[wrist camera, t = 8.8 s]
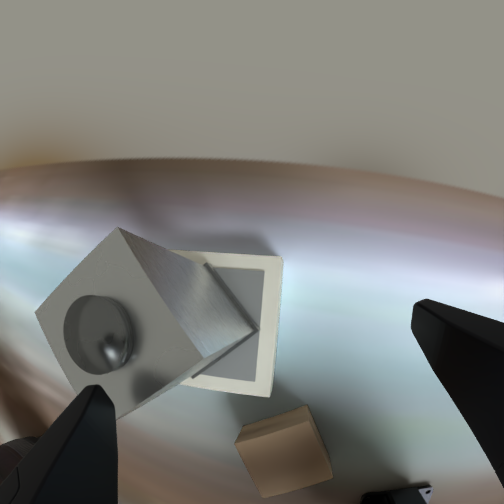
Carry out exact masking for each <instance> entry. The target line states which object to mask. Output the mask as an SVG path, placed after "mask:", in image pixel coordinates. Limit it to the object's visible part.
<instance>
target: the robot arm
mask: <svg viewBox="0 0 504 504" xmlns="http://www.w3.org/2000/svg"><path fill="white" fill-rule="evenodd" d="M411 330H412V333H413V335H414V336H415V338H416V340H417V342H418V344H419V345H420V347H421V349H422V351H423V353H424V355H425V356H426V358H427V360H428V362H429V364H430V366H431V368H432V369H433V371H434V373H435V374H436V376H437V377H438V379H439V380H440V382H441V383H442V385H443V386H444V388H445V389H446V391H447V392H448V394H449V395H450V397H451V398H452V400H453V402H454V403H455V405H456V406H457V408H458V409H459V411H460V413H461V414H462V416H463V417H464V419H465V421H466V422H467V424H468V425H469V427H470V429H471V430H472V432H473V434H474V435H475V437H476V439H477V440H478V442H479V444H480V446H481V447H482V449H483V451H484V452H485V454H486V456H487V458H488V459H489V461H490V463H491V465H492V467H493V469H494V470H495V473H496V474H497V476H498V478H499V480H500V482H501V484H502V486H503V488H504V323H503V322H500V321H497V320H494V319H490V318H487V317H484V316H481V315H478V314H475V313H471V312H468V311H465V310H462V309H459V308H455V307H452V306H449V305H446V304H443V303H439V302H436V301H433V300H430V299H423V300H421V301H418V302H416V303H415V304H414V306H413V313H412V320H411ZM427 490H429V491H427ZM426 491H427V492H426ZM432 493H433V488H432V486H430V485H428V486H422V487H413V488H406V489H399V490H390V491H384V492H372V493H366V494H364V495H363V496H362V498H361V501H360V504H428V503H429V500H430V498H431V495H432ZM368 497H370V498H369V499H366V498H368ZM0 504H118V447H117V433H116V412H115V406H114V403H113V402H112V400H111V399H110V397H109V396H108V395H107V393H106V392H105V390H104V389H103V388H102V386H100V385H99V384H94V385H87V386H86V387H85V388H84V389H83V390H82V391H81V392H80V393H79V394H78V395H77V396H76V398H75V399H74V400H73V401H72V402H71V403H70V404H69V405H68V407H67V408H66V409H65V410H64V411H63V412H62V413H61V415H60V416H59V417H58V418H57V419H56V420H55V421H54V423H53V424H52V425H51V426H50V427H49V428H48V429H47V431H46V432H45V433H44V434H43V435H42V436H41V438H40V439H39V440H38V441H37V442H36V443H35V445H34V446H33V447H32V448H31V449H30V450H29V452H28V453H27V454H26V455H25V456H24V458H23V459H22V460H21V461H20V462H19V464H18V466H16V467H15V468H14V469H13V471H12V472H11V473H10V474H9V475H8V477H7V478H6V479H5V480H4V481H3V482H2V484H1V485H0Z"/></svg>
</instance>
